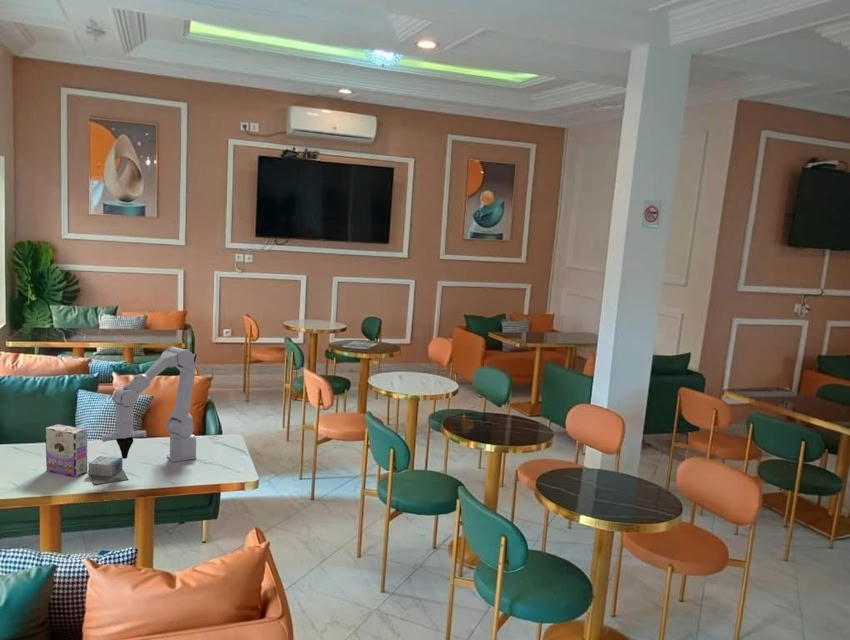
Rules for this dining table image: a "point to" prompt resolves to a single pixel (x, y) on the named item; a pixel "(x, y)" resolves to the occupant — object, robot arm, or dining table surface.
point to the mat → (109, 478)
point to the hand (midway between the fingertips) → (124, 457)
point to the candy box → (66, 450)
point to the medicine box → (105, 466)
